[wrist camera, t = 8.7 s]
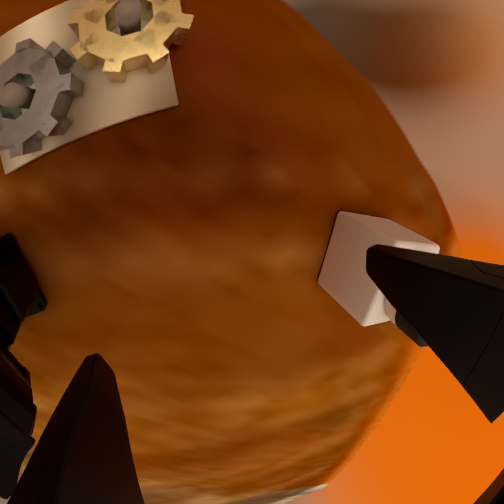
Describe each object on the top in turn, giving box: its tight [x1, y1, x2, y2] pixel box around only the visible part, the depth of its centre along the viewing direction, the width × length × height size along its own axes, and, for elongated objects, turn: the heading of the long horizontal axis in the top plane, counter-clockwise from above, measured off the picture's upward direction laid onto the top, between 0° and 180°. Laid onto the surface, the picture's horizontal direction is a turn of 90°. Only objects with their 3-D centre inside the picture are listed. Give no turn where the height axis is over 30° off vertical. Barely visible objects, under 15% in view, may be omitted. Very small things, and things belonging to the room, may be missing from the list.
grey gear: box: [0, 38, 84, 159], centre depth 9 cm, size 6×6×3 cm
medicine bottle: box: [318, 211, 440, 347], centre depth 20 cm, size 7×7×12 cm
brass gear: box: [68, 0, 194, 82], centre depth 10 cm, size 6×6×3 cm
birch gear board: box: [0, 0, 179, 175], centre depth 9 cm, size 12×10×5 cm
